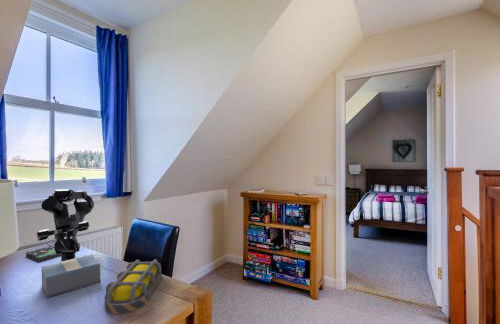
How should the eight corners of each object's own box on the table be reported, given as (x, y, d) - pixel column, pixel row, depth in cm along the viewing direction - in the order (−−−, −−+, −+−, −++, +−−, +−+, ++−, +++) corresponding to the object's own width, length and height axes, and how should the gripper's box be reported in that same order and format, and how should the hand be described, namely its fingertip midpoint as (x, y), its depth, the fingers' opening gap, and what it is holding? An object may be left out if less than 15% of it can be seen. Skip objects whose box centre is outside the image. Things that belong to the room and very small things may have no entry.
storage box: (42, 286, 107) (41, 269, 107) (92, 272, 120) (91, 257, 120) (46, 298, 98) (46, 280, 98) (100, 281, 111) (100, 265, 111)
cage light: (165, 256, 119) (139, 291, 89) (165, 273, 119) (140, 314, 89) (132, 256, 118) (95, 292, 88) (132, 274, 118) (95, 315, 88)
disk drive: (25, 257, 138) (38, 263, 131) (25, 252, 138) (38, 257, 131) (48, 251, 147) (62, 256, 140) (48, 246, 147) (62, 250, 140)
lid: (41, 269, 107) (41, 266, 107) (91, 256, 120) (91, 254, 120) (46, 279, 98) (45, 277, 98) (100, 265, 111) (99, 262, 111)
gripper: (35, 214, 109) (40, 250, 104) (87, 204, 121) (94, 237, 116) (35, 223, 116) (40, 258, 111) (84, 213, 129) (90, 244, 124)
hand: (67, 249), depth 115 cm, fingers closed
